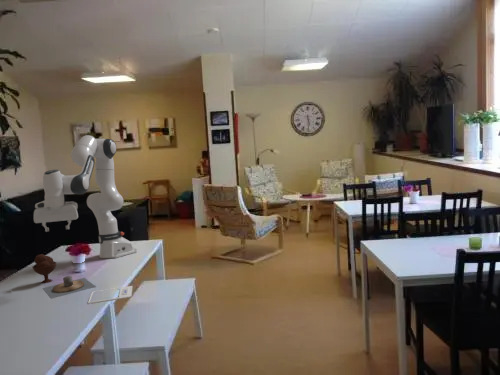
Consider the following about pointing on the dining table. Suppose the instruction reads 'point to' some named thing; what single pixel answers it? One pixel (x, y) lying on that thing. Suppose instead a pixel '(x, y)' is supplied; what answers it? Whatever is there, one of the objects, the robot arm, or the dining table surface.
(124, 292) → the photo frame
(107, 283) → the dining table surface
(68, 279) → the walnut lid
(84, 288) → the rubber mat
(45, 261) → the ice cream bowl
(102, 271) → the dining table surface
